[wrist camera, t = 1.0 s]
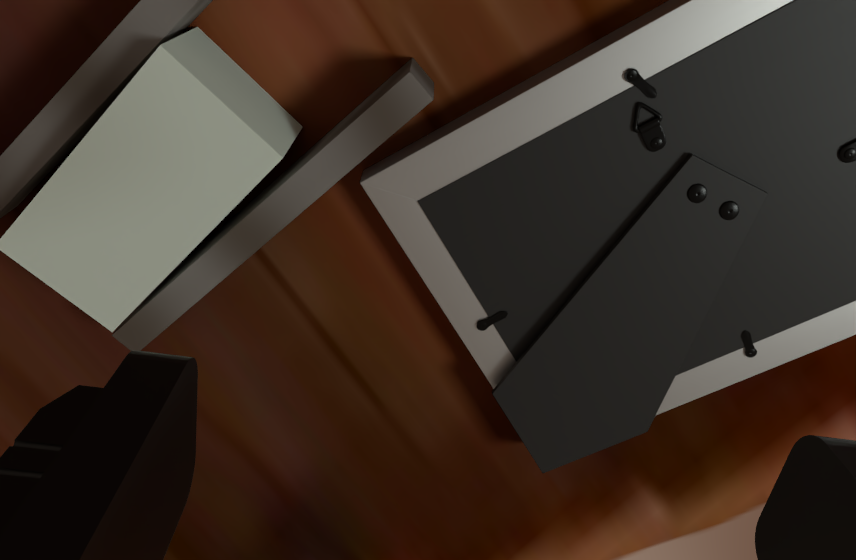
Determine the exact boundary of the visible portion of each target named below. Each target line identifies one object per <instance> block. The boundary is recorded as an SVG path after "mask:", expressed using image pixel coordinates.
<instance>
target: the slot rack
mask: <svg viewBox="0 0 856 560" xmlns="http://www.w3.org/2000/svg"><path fill="white" fill-rule="evenodd" d="M211 1H212V0H141V1H140V2H139V3H138V4H137V5H136V6H135V7H134V8H133V9H132V11H131V12H130V13H129V14H128V15H127V16H126V17H125V18H124V19H123V21H122V22H121V23H120V24H119V25H118V26H117V27H116V28H115V29H114V31H113V32H112V33H111V34H110V35H109V36H108V37H107V38H106V39H105V41H104V42H103V43H102V44H101V45H100V46H99V47H98V48H97V49H96V51H95V52H94V53H93V54H92V55H91V56H90V57H89V58H88V59H87V61H86V62H85V63H84V64H83V65H82V66H81V67H80V68H79V69H78V70H77V72H76V73H75V74H74V75H73V76H72V77H71V78H70V79H69V80H68V82H67V83H66V84H65V85H64V86H63V87H62V88H61V89H60V90H59V92H58V93H57V94H56V95H55V96H54V97H53V98H52V99H51V100H50V102H49V103H48V104H47V105H46V106H45V107H44V108H43V109H42V110H41V112H40V113H39V114H38V115H37V116H36V117H35V118H34V119H33V120H32V122H31V123H30V124H29V125H28V126H27V127H26V128H25V129H24V130H23V132H22V133H21V134H20V135H19V136H18V137H17V138H16V139H15V140H14V142H13V143H12V144H11V145H10V146H9V147H8V148H7V149H6V150H5V151H4V153H3V154H2V155H1V156H0V218H1V217H3V216H4V215H6V214H7V213H8V212H10V211H11V210H13V209H14V208H15V207H17V206H18V205H19V204H20V203H21V202H22V201H23V200H24V199H25V198H26V197H27V196H28V194H29V193H30V192H31V191H32V190H33V189H34V188H35V187H36V186H37V185H38V184H39V183H40V182H41V181H42V180H43V179H44V178H45V177H46V175H47V174H48V173H49V172H50V171H51V170H52V169H53V168H54V167H55V166H56V165H57V164H58V163H59V162H60V161H61V160H62V159H63V158H64V157H65V155H66V154H67V153H68V152H69V151H70V150H71V149H72V148H73V147H74V146H75V145H76V144H77V143H78V142H79V141H80V140H81V139H82V138H83V136H84V135H85V134H86V133H87V132H88V131H89V130H90V129H91V128H92V127H93V126H94V125H95V123H96V122H97V121H98V120H99V119H100V117H101V116H102V115H103V114H104V113H105V111H106V110H107V109H108V108H109V106H110V105H111V104H112V103H113V102H114V100H115V99H116V98H117V97H118V96H119V94H120V93H121V92H122V91H123V89H124V88H125V87H126V86H127V85H128V83H129V82H130V81H131V80H132V79H133V77H134V76H135V75H136V74H137V72H138V71H139V70H140V69H141V68H142V66H143V65H144V64H145V63H146V62H147V60H148V59H149V58H150V57H151V55H152V54H153V53H154V52H155V51H156V49H157V48H158V47H159V46H160V45H161V44H163V43H165V42H167V41H169V40H171V39H173V38H175V37H177V36H179V35H180V34H181V33H182V32H183V31H184V30H185V29H186V28H187V27H188V26H189V25H190V24H191V23H192V22H193V20H194V19H195V18H196V17H197V16H198V15H199V14H200V13H201V12H202V11H203V10H204V9H205V8H206V7H207V6H208V5H209V4H210V3H211ZM433 97H434V82H433V81H432V80H431V79H430V78H429V76H428V75H427V74H426V73H425V72H424V70H423V69H422V68H421V67H420V66H419V65H418V63H417V62H416V61H415V60H414V59H413V57H412V58H411V59H410V60H409V61H408V62H407V63H406V64H405V65H403V66H402V67H401V68H400V69H399V70H398V71H397V72H396V73H394V74H393V75H392V76H391V77H390V78H389V79H388V80H387V81H386V82H384V83H383V84H382V85H381V86H380V87H379V88H378V89H377V90H375V91H374V92H373V93H372V94H371V95H370V96H369V97H368V98H366V99H365V100H364V101H363V102H362V103H361V104H360V105H359V106H357V107H356V108H355V109H354V110H353V111H352V112H351V113H350V114H349V115H347V116H346V117H345V118H344V119H343V120H342V121H341V122H340V123H338V124H337V125H336V126H335V127H334V128H333V129H332V130H331V131H329V132H328V133H327V134H326V135H325V136H324V137H323V138H322V139H320V140H319V141H318V142H317V143H316V144H315V145H314V146H313V147H312V148H310V149H309V150H308V151H307V152H306V153H305V154H304V155H303V156H301V157H300V158H299V159H298V160H297V161H296V162H295V163H294V164H292V165H291V166H290V167H289V168H288V169H287V170H286V171H285V172H283V173H282V174H281V175H280V176H279V177H278V178H277V179H276V180H275V181H273V182H272V183H271V184H270V185H269V186H268V187H267V188H266V189H264V190H263V191H262V192H261V193H260V194H259V195H258V196H257V197H255V198H254V199H253V200H252V201H251V202H250V203H249V204H248V205H246V206H245V207H244V208H243V209H242V210H241V211H240V212H239V213H238V214H236V215H235V216H234V217H233V218H232V219H231V220H230V221H229V222H227V223H226V224H225V225H224V226H223V227H222V228H221V229H220V230H218V231H217V232H216V233H215V234H214V235H213V236H212V237H211V238H209V239H208V240H207V241H206V242H205V243H204V244H203V245H202V246H201V247H199V248H198V249H197V250H196V251H195V252H194V253H193V254H192V255H190V256H189V257H188V258H187V259H186V260H185V261H184V262H183V263H181V264H180V265H179V266H178V267H177V268H176V269H175V270H174V271H172V272H171V273H170V274H169V275H168V276H167V277H166V278H165V279H164V280H163V281H162V282H161V283H160V284H159V285H158V286H157V287H156V288H155V289H154V290H153V291H152V292H151V293H150V294H149V295H148V296H147V297H146V298H145V299H144V300H143V301H142V302H141V303H140V304H139V305H138V306H137V308H136V309H135V310H134V311H133V312H132V313H131V314H130V315H129V316H128V317H127V318H126V319H125V320H124V321H123V322H122V323H121V324H120V325H119V327H118V328H117V329H116V331H115V332H114V333H113V335H112V336H113V337H115V338H116V339H117V340H118V341H120V342H121V343H122V344H123V345H125V346H126V347H127V348H128V349H130V350H131V351H133V350H136V351H140V350H141V349H142V348H144V347H145V346H146V345H147V344H148V343H150V342H151V341H152V340H153V339H154V338H155V337H157V336H158V335H159V334H160V333H161V332H162V331H164V330H165V329H166V328H167V327H168V326H169V325H171V324H172V323H173V322H174V321H175V320H176V319H178V318H179V317H180V316H181V315H182V314H183V313H185V312H186V311H187V310H188V309H189V308H190V307H192V306H193V305H194V304H195V303H196V302H197V301H199V300H200V299H201V298H202V297H203V296H204V295H206V294H207V293H208V292H209V291H210V290H211V289H213V288H214V287H215V286H216V285H217V284H218V283H220V282H221V281H222V280H223V279H224V278H225V277H227V276H228V275H229V274H230V273H231V272H232V271H234V270H235V269H236V268H237V267H238V266H240V265H241V264H242V263H243V262H244V261H245V260H247V259H248V258H249V257H250V256H251V255H252V254H254V253H255V252H256V251H257V250H258V249H259V248H261V247H262V246H263V245H264V244H265V243H266V242H268V241H269V240H270V239H271V238H272V237H273V236H275V235H276V234H277V233H278V232H279V231H280V230H282V229H283V228H284V227H285V226H286V225H287V224H289V223H290V222H291V221H292V220H293V219H294V218H296V217H297V216H298V215H299V214H300V213H301V212H303V211H304V210H305V209H306V208H307V207H308V206H310V205H311V204H312V203H313V202H314V201H315V200H317V199H318V198H319V197H320V196H321V195H323V194H324V193H325V192H326V191H327V190H328V189H330V188H331V187H332V186H333V185H334V184H335V183H337V182H338V181H339V180H340V179H341V178H342V177H344V176H345V175H346V174H347V173H348V172H349V171H351V170H352V169H353V168H354V167H355V166H356V165H358V164H359V163H360V162H361V161H362V160H363V159H365V158H366V157H367V156H368V155H369V154H370V153H372V152H373V151H374V150H375V149H376V148H377V147H379V146H380V145H381V144H382V143H383V142H384V141H386V140H387V139H388V138H389V137H390V136H391V135H393V134H394V133H395V132H396V131H397V130H398V129H400V128H401V127H402V126H403V125H404V124H406V123H407V122H408V121H409V120H410V119H411V118H413V117H414V116H415V115H416V114H417V113H418V112H420V111H421V110H422V109H423V108H424V107H425V106H427V105H428V104H429V103H430V102H431V101H432V100H433Z"/></svg>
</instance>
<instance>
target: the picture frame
mask: <svg viewBox="0 0 856 560" xmlns="http://www.w3.org/2000/svg"><path fill="white" fill-rule="evenodd" d="M360 184H361V186H362V187H363V189H364V190H365V192H366V193H367V195H368V196H369V198H370V199H371V201H372V203H373V204H374V206H375V207H376V209H377V210H378V212H379V213H380V215H381V216H382V218H383V219H384V221H385V223H386V224H387V226H388V227H389V229H390V230H391V232H392V233H393V235H394V236H395V238H396V239H397V241H398V243H399V244H400V246H401V247H402V249H403V250H404V252H405V253H406V255H407V256H408V258H409V259H410V261H411V263H412V264H413V266H414V267H415V269H416V270H417V272H418V273H419V275H420V276H421V278H422V280H423V281H424V283H425V284H426V286H427V287H428V289H429V290H430V292H431V293H432V295H433V296H434V298H435V300H436V301H437V303H438V304H439V306H440V307H441V309H442V310H443V312H444V313H445V315H446V316H447V318H448V320H449V321H450V323H451V324H452V326H453V327H454V329H455V330H456V332H457V333H458V335H459V336H460V338H461V340H462V341H463V343H464V344H465V346H466V347H467V349H468V350H469V352H470V353H471V355H472V356H473V358H474V360H475V361H476V363H477V364H478V366H479V367H480V369H481V370H482V372H483V373H484V375H485V377H486V378H487V380H488V381H489V383H490V384H491V386H492V387H493V390H492V394H493V396H494V397H495V399H496V400H497V402H498V404H499V405H500V407H501V408H502V410H503V411H504V413H505V415H506V416H507V418H508V419H509V421H510V422H511V424H512V426H513V427H514V429H515V430H516V432H517V434H518V435H519V437H520V438H521V440H522V441H523V443H524V445H525V446H526V448H527V449H528V451H529V452H530V454H531V456H532V457H533V459H534V460H535V462H536V463H537V465H538V467H539V468H540V470H541V471H542V473H545V472H547V471H550V470H552V469H555V468H557V467H560V466H562V465H565V464H567V463H570V462H572V461H575V460H577V459H580V458H582V457H585V456H587V455H590V454H592V453H595V452H597V451H600V450H602V449H605V448H607V447H610V446H612V445H615V444H617V443H620V442H622V441H625V440H627V439H630V438H632V437H635V436H637V435H640V434H642V433H645V432H647V431H648V429H649V427H650V425H651V423H652V421H653V419H654V417H655V415H658V414H660V413H662V412H665V411H667V410H670V409H672V408H675V407H677V406H680V405H682V404H685V403H687V402H690V401H692V400H695V399H697V398H700V397H702V396H705V395H707V394H709V393H712V392H714V391H717V390H719V389H722V388H724V387H727V386H729V385H732V384H734V383H737V382H739V381H742V380H744V379H747V378H749V377H752V376H754V375H756V374H759V373H761V372H764V371H766V370H769V369H771V368H774V367H776V366H779V365H781V364H784V363H786V362H789V361H791V360H794V359H796V358H799V357H801V356H803V355H806V354H808V353H811V352H813V351H816V350H818V349H821V348H823V347H826V346H828V345H831V344H833V343H836V342H838V341H841V340H843V339H845V338H848V337H850V336H853V335H855V334H856V0H669V1H667V2H665V3H663V4H662V5H660V6H658V7H656V8H654V9H653V10H651V11H649V12H647V13H645V14H644V15H642V16H640V17H638V18H636V19H635V20H633V21H631V22H629V23H627V24H626V25H624V26H622V27H620V28H618V29H617V30H615V31H613V32H611V33H609V34H608V35H606V36H604V37H602V38H600V39H599V40H597V41H595V42H593V43H591V44H590V45H588V46H586V47H584V48H583V49H581V50H579V51H577V52H575V53H574V54H572V55H570V56H568V57H566V58H565V59H563V60H561V61H559V62H557V63H556V64H554V65H552V66H550V67H548V68H547V69H545V70H543V71H541V72H539V73H538V74H536V75H534V76H532V77H530V78H529V79H527V80H525V81H523V82H521V83H520V84H518V85H516V86H514V87H512V88H511V89H509V90H507V91H505V92H503V93H502V94H500V95H498V96H496V97H494V98H493V99H491V100H489V101H487V102H485V103H484V104H482V105H480V106H478V107H476V108H475V109H473V110H471V111H469V112H467V113H466V114H464V115H462V116H460V117H458V118H457V119H455V120H453V121H451V122H449V123H448V124H446V125H444V126H442V127H440V128H439V129H437V130H435V131H433V132H431V133H430V134H428V135H426V136H424V137H423V138H421V139H419V140H417V141H415V142H414V143H412V144H410V145H408V146H406V147H405V148H403V149H401V150H399V151H397V152H396V153H394V154H392V155H390V156H388V157H387V158H385V159H383V160H381V161H379V162H378V163H376V164H374V165H372V166H370V167H369V168H367V169H365V170H363V173H362V176H361V180H360Z"/></svg>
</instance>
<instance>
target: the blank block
mask: <svg viewBox="0 0 856 560" xmlns="http://www.w3.org/2000/svg"><path fill="white" fill-rule="evenodd" d="M301 129H302V126H301V125H300V124H299V123H298V122H297V121H296V120H295V119H294V118H293V117H292V116H291V115H290V114H289V113H288V112H287V111H286V110H285V109H284V108H282V107H281V106H280V105H279V104H278V103H277V102H276V101H275V100H274V99H273V98H272V97H271V96H270V95H269V94H268V93H267V92H266V91H265V90H264V89H262V88H261V87H260V86H259V85H258V84H257V83H256V82H255V81H254V80H253V79H252V78H251V77H250V76H249V75H248V74H247V73H246V72H245V71H244V70H242V69H241V68H240V67H239V66H238V65H237V64H236V63H235V62H234V61H233V60H232V59H231V58H230V57H229V56H228V55H227V54H226V53H225V52H224V51H222V50H221V49H220V48H219V47H218V46H217V45H216V44H215V43H214V42H213V41H212V40H211V39H210V38H209V37H208V36H207V35H206V34H205V33H204V32H202V31H201V30H200V29H199V28H198V27H196V28H194V29H192V30H190V31H188V32H186V33H184V34H182V35H180V36H177V37H175V38H173V39H171V40H169V41H167V42H165V43H163V44H161V45H160V46H159V47H158V48H157V49H156V51H155V52H154V53H153V54H152V55H151V57H150V58H149V59H148V60H147V62H146V63H145V64H144V65H143V66H142V68H141V69H140V70H139V71H138V72H137V74H136V75H135V76H134V77H133V79H132V80H131V81H130V82H129V83H128V85H127V86H126V87H125V88H124V89H123V91H122V92H121V93H120V94H119V96H118V97H117V98H116V99H115V100H114V102H113V103H112V104H111V105H110V106H109V108H108V109H107V110H106V111H105V113H104V114H103V115H102V116H101V117H100V119H99V120H98V121H97V122H96V123H95V125H94V126H93V127H92V128H91V130H90V131H89V132H88V133H87V134H86V136H85V137H84V138H83V139H82V140H81V142H80V143H79V144H78V145H77V146H76V148H75V149H74V150H73V151H72V153H71V154H70V155H69V156H68V157H67V159H66V160H65V161H64V162H63V163H62V165H61V166H60V167H59V168H58V170H57V171H56V172H55V173H54V174H53V176H52V177H51V178H50V179H49V180H48V182H47V183H46V184H45V185H44V187H43V188H42V189H41V190H40V191H39V193H38V194H37V195H36V196H35V197H34V199H33V200H32V201H31V202H30V204H29V205H28V206H27V207H26V208H25V210H24V211H23V212H22V213H21V214H20V216H19V217H18V218H17V219H16V221H15V222H14V223H13V224H12V225H11V227H10V228H9V229H8V230H7V231H6V233H5V234H4V235H3V236H2V238H1V239H0V250H1V251H2V252H3V253H5V254H6V255H8V256H9V257H10V258H12V259H13V260H14V261H16V262H17V263H18V264H20V265H21V266H23V267H24V268H25V269H27V270H28V271H29V272H31V273H32V274H33V275H35V276H36V277H38V278H39V279H40V280H42V281H43V282H44V283H46V284H47V285H48V286H50V287H51V288H53V289H54V290H55V291H57V292H58V293H59V294H61V295H62V296H63V297H65V298H66V299H68V300H69V301H70V302H72V303H73V304H74V305H76V306H77V307H78V308H80V309H81V310H83V311H84V312H85V313H87V314H88V315H89V316H91V317H92V318H93V319H95V320H96V321H98V322H99V323H100V324H102V325H103V326H104V327H106V328H107V329H108V330H110V331H111V332H113V331H114V330H115V329H116V328H117V327H118V326H119V325H120V324H121V323H122V322H123V321H124V320H125V319H126V318H127V317H128V316H129V315H130V314H131V313H132V312H133V311H134V310H135V309H136V308H137V306H138V305H139V304H140V303H141V302H142V301H143V300H144V299H145V298H146V297H147V296H148V295H149V294H150V293H151V292H152V291H153V290H154V289H155V288H156V287H157V286H158V285H159V284H160V283H161V282H162V281H163V280H164V279H165V278H166V277H167V276H168V275H169V274H170V273H171V272H172V271H173V270H174V269H175V268H176V267H177V266H178V265H179V264H180V263H181V262H182V261H183V260H184V259H185V258H186V257H187V256H188V255H189V253H190V252H191V251H192V250H193V249H194V248H195V247H196V246H197V245H198V244H199V243H200V242H201V241H202V240H203V239H204V238H205V237H206V236H207V235H208V234H209V233H210V232H211V231H212V230H213V229H214V228H215V227H216V226H217V225H218V224H219V223H220V222H221V221H222V220H223V219H224V218H225V217H226V216H227V215H228V214H229V213H230V212H231V211H232V210H233V209H234V208H235V207H236V206H237V205H238V204H239V203H240V201H241V200H242V199H243V198H244V197H245V196H246V195H247V194H248V193H249V192H250V191H251V190H252V189H253V188H254V187H255V186H256V185H257V184H258V183H259V182H260V181H261V180H262V179H263V178H264V177H265V176H266V175H267V174H268V173H269V172H270V171H271V170H272V169H273V168H274V167H275V166H276V165H277V164H278V163H279V162H280V161H281V160H282V159H283V157H284V156H285V154H286V153H287V151H288V150H289V148H290V146H291V145H292V143H293V142H294V140H295V138H296V137H297V135H298V134H299V132H300V130H301Z"/></svg>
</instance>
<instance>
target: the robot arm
mask: <svg viewBox="0 0 856 560" xmlns="http://www.w3.org/2000/svg"><path fill="white" fill-rule="evenodd" d="M197 379H198V370H197V362H196V360H195V358H193V357H185V356H177V355H168V354H160V353H152V352H144V351H136V350H133V351H131V352H130V353H129V354H128V355H127V356H126V357H125V359H124V360H123V362H122V363H121V364H120V366H119V367H118V369H117V370H116V371H115V373H114V374H113V376H112V377H111V379H110V380H109V381H108V383H107V384H106V386H105V387H104V388H98V387H90V386H81V385H79V386H77V387H75V388H74V389H72V390H70V391H69V392H67V393H65V394H64V395H62V396H60V397H59V398H57V399H55V400H54V401H52V402H51V403H49V404H47V405H46V406H44V407H42V408H41V409H40V410H39V411H38V412H37V413H36V414H35V416H34V417H33V418H32V419H31V421H30V422H29V423H28V424H27V426H26V427H25V428H24V429H23V430H22V432H21V433H20V434H19V435H18V437H17V438H16V439H15V443H14V446H13V447H11V446H9V448H8V449H7V450H6V451H5V453H4V454H3V455H2V456H1V457H0V560H163V559H164V556H165V554H166V551H167V549H168V546H169V544H170V542H171V539H172V537H173V534H174V532H175V529H176V527H177V524H178V522H179V520H180V517H181V515H182V512H183V510H184V507H185V505H186V502H187V499H188V495H189V492H190V487H191V483H192V478H193V473H194V466H195V455H196V419H197ZM755 546H756V553H757V558H758V560H856V441H854V440H845V439H837V438H829V437H821V436H813V435H808V436H804V437H802V438H800V439H799V440H798V441H797V442H796V443H795V445H794V446H793V448H792V450H791V452H790V454H789V456H788V458H787V460H786V462H785V464H784V466H783V469H782V471H781V473H780V475H779V477H778V479H777V481H776V483H775V485H774V488H773V490H772V492H771V494H770V496H769V498H768V500H767V502H766V504H765V507H764V509H763V511H762V513H761V515H760V517H759V520H758V522H757V526H756V532H755Z"/></svg>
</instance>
